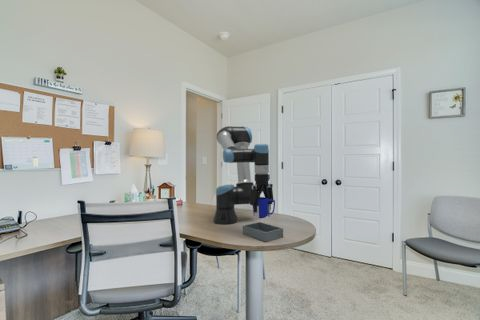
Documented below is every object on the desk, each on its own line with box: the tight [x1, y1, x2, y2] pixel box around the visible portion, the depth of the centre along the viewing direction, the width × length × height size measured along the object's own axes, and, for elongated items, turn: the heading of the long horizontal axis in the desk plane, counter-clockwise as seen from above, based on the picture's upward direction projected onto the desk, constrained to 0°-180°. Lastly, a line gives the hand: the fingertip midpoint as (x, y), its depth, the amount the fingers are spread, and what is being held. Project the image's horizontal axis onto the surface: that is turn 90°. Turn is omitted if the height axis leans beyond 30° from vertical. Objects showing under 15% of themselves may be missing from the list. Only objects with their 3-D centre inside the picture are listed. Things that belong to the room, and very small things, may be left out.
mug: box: [253, 196, 276, 219], centre depth 129 cm, size 8×12×10 cm
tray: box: [242, 221, 284, 243], centre depth 129 cm, size 17×12×4 cm
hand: (262, 217), depth 128 cm, fingers closed on mug, 7 cm apart
